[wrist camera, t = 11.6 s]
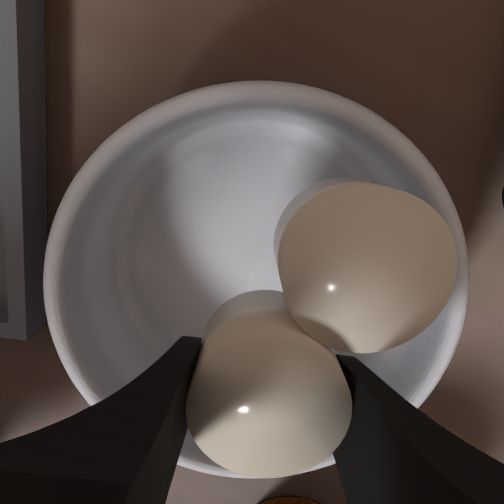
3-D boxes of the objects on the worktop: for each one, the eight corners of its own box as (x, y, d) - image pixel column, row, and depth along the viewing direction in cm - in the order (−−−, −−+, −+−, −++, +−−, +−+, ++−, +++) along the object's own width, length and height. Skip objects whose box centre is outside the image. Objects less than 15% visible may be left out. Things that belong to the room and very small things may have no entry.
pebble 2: (411, 288, 13) (463, 334, 10) (287, 316, 13) (300, 367, 10) (395, 163, 11) (450, 167, 8) (260, 195, 12) (264, 211, 9)
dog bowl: (179, 37, 16) (138, -28, 10) (464, 196, 18) (568, 219, 12) (64, 321, 19) (-15, 394, 14) (311, 426, 21) (334, 529, 16)
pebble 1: (317, 405, 13) (338, 483, 10) (198, 397, 13) (182, 473, 10) (336, 295, 12) (365, 345, 9) (204, 284, 12) (188, 331, 9)
